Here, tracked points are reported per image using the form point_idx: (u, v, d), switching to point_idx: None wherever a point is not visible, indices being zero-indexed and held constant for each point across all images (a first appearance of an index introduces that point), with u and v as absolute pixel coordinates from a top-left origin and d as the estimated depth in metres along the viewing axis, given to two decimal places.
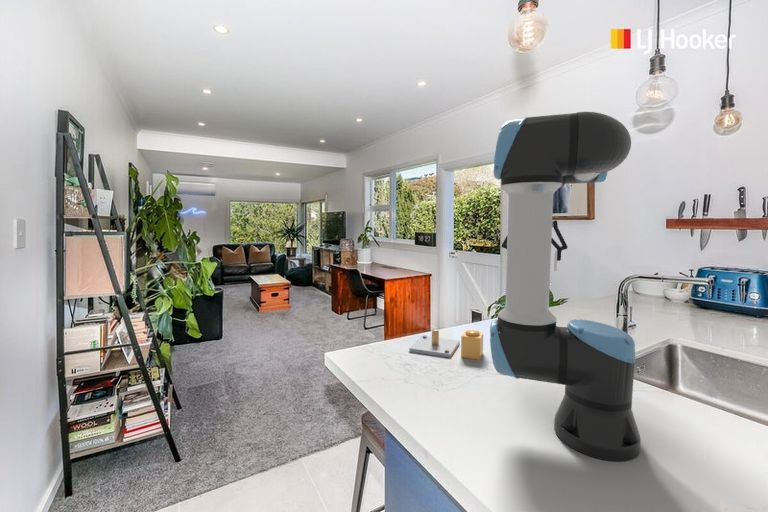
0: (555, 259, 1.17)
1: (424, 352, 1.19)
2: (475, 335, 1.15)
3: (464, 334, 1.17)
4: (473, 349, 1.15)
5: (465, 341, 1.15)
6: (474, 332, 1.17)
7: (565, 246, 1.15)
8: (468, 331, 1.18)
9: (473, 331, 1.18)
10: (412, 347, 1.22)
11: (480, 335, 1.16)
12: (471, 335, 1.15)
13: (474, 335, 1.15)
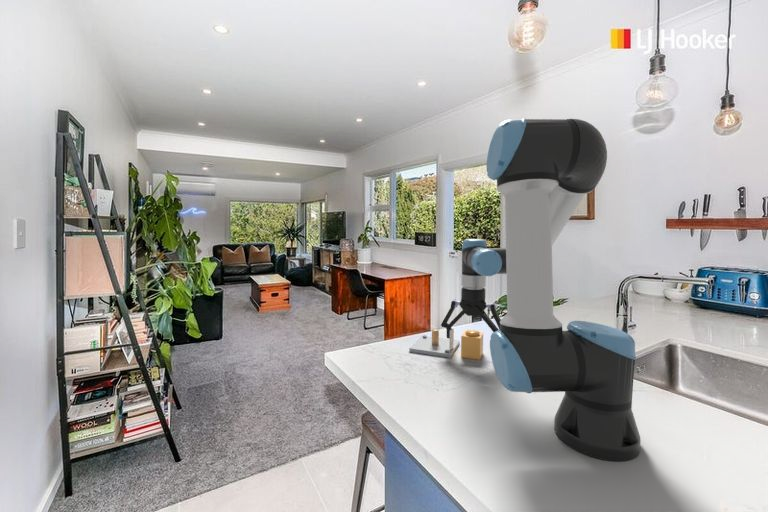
0: None
1: (424, 352, 1.19)
2: (475, 335, 1.15)
3: (464, 334, 1.17)
4: (473, 349, 1.15)
5: (465, 341, 1.15)
6: (474, 332, 1.17)
7: None
8: (468, 331, 1.18)
9: (473, 331, 1.18)
10: (412, 347, 1.22)
11: (480, 335, 1.16)
12: (471, 335, 1.15)
13: (474, 335, 1.15)
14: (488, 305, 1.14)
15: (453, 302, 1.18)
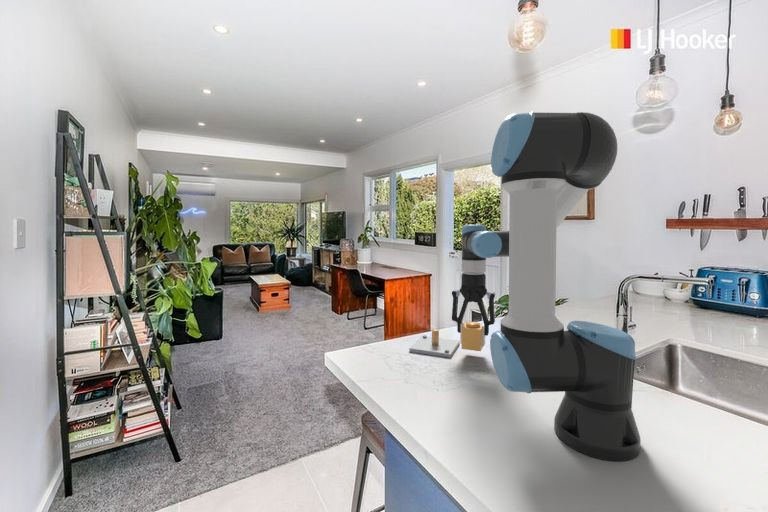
0: (482, 334, 1.14)
1: (424, 352, 1.19)
2: (475, 326, 1.14)
3: (464, 326, 1.16)
4: (474, 341, 1.14)
5: (465, 333, 1.15)
6: (474, 324, 1.16)
7: (492, 321, 1.13)
8: (468, 323, 1.17)
9: (473, 322, 1.17)
10: (412, 347, 1.22)
11: (480, 327, 1.15)
12: (471, 326, 1.14)
13: (474, 326, 1.14)
14: (488, 293, 1.13)
15: (453, 292, 1.17)
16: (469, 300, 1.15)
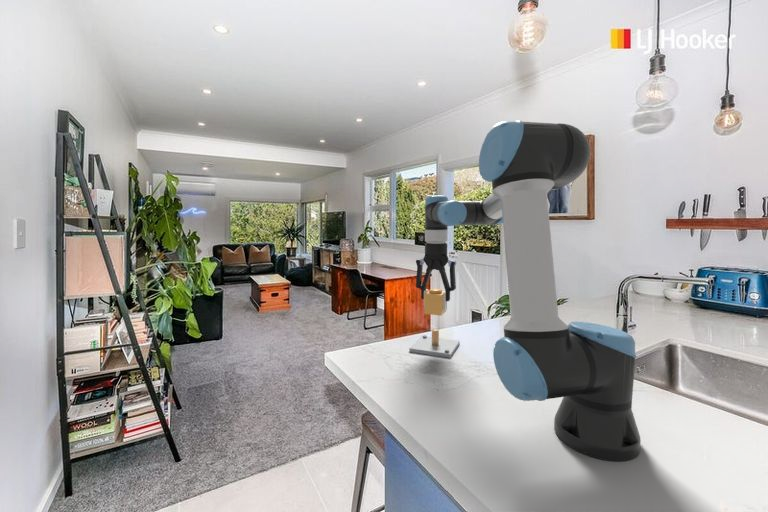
0: (443, 300, 1.21)
1: (424, 352, 1.19)
2: (437, 292, 1.21)
3: (427, 292, 1.23)
4: (435, 306, 1.21)
5: (428, 298, 1.21)
6: (437, 290, 1.23)
7: (452, 288, 1.19)
8: (431, 289, 1.24)
9: (436, 289, 1.24)
10: (412, 347, 1.22)
11: (442, 293, 1.22)
12: (433, 292, 1.21)
13: (436, 292, 1.21)
14: (449, 261, 1.20)
15: (417, 261, 1.23)
16: (432, 268, 1.22)
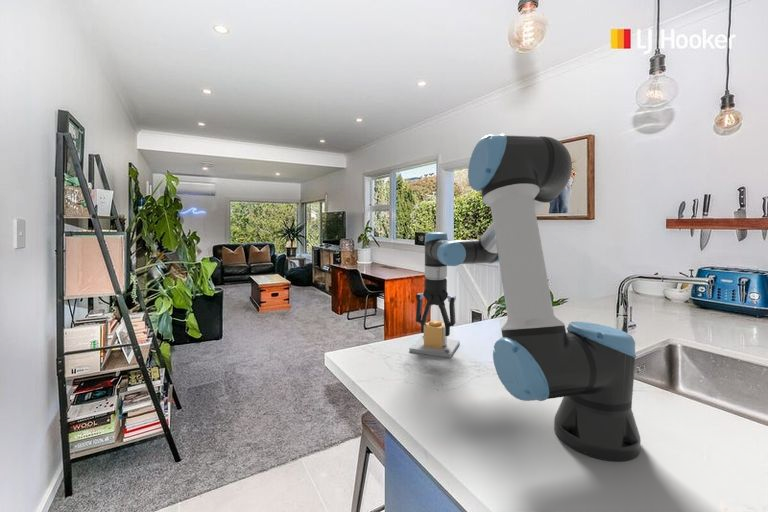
0: (443, 335, 1.22)
1: (424, 352, 1.19)
2: (437, 325, 1.22)
3: (427, 324, 1.24)
4: (435, 338, 1.22)
5: (428, 331, 1.22)
6: (436, 322, 1.24)
7: (452, 323, 1.21)
8: (431, 321, 1.25)
9: (436, 321, 1.25)
10: (412, 347, 1.22)
11: (442, 325, 1.23)
12: (433, 325, 1.22)
13: (436, 325, 1.22)
14: (449, 297, 1.21)
15: (417, 295, 1.25)
16: (431, 303, 1.23)
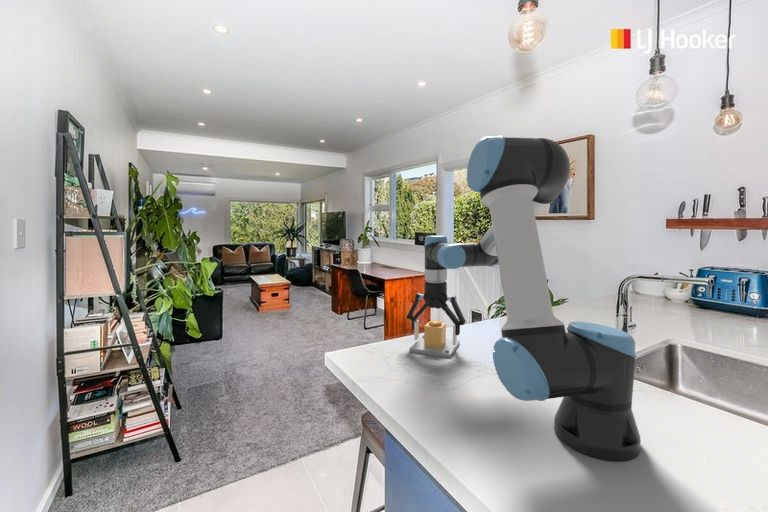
0: (453, 334, 1.20)
1: (424, 352, 1.19)
2: (437, 325, 1.22)
3: (427, 324, 1.24)
4: (435, 338, 1.22)
5: (428, 331, 1.22)
6: (436, 322, 1.24)
7: (462, 322, 1.19)
8: (431, 321, 1.25)
9: (436, 321, 1.25)
10: (412, 347, 1.22)
11: (442, 325, 1.23)
12: (433, 325, 1.22)
13: (436, 325, 1.22)
14: (449, 298, 1.21)
15: (417, 295, 1.24)
16: (429, 306, 1.23)
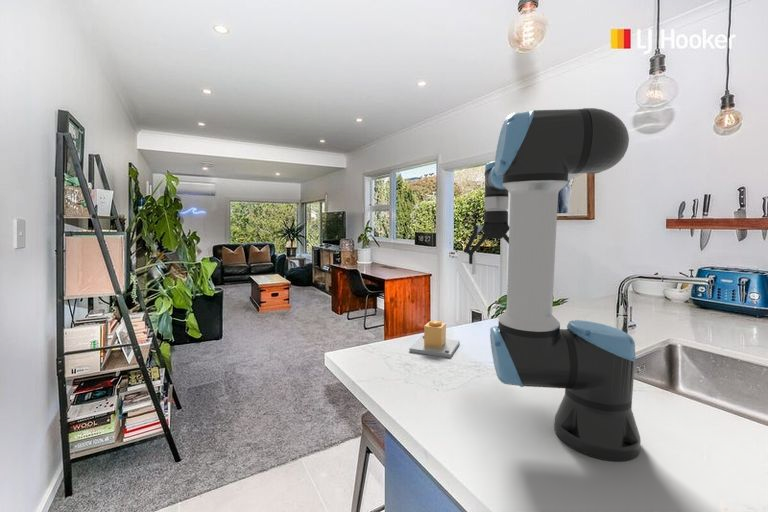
0: None
1: (424, 352, 1.19)
2: (437, 325, 1.22)
3: (427, 324, 1.24)
4: (435, 338, 1.22)
5: (428, 331, 1.22)
6: (436, 322, 1.24)
7: None
8: (431, 321, 1.25)
9: (436, 321, 1.25)
10: (412, 347, 1.22)
11: (442, 325, 1.23)
12: (433, 325, 1.22)
13: (436, 325, 1.22)
14: None
15: (476, 226, 1.19)
16: (489, 237, 1.18)
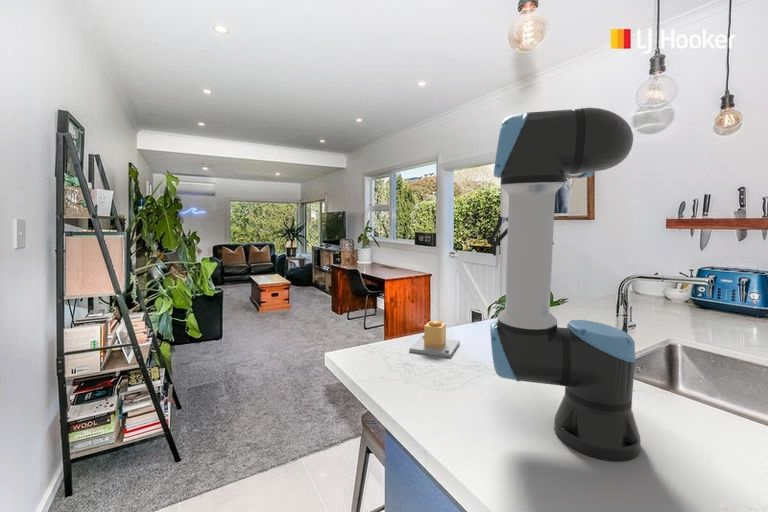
0: None
1: (424, 352, 1.19)
2: (437, 325, 1.22)
3: (427, 324, 1.24)
4: (435, 338, 1.22)
5: (428, 331, 1.22)
6: (436, 322, 1.24)
7: None
8: (431, 321, 1.25)
9: (436, 321, 1.25)
10: (412, 347, 1.22)
11: (442, 325, 1.23)
12: (433, 325, 1.22)
13: (436, 325, 1.22)
14: None
15: (500, 217, 1.19)
16: None
